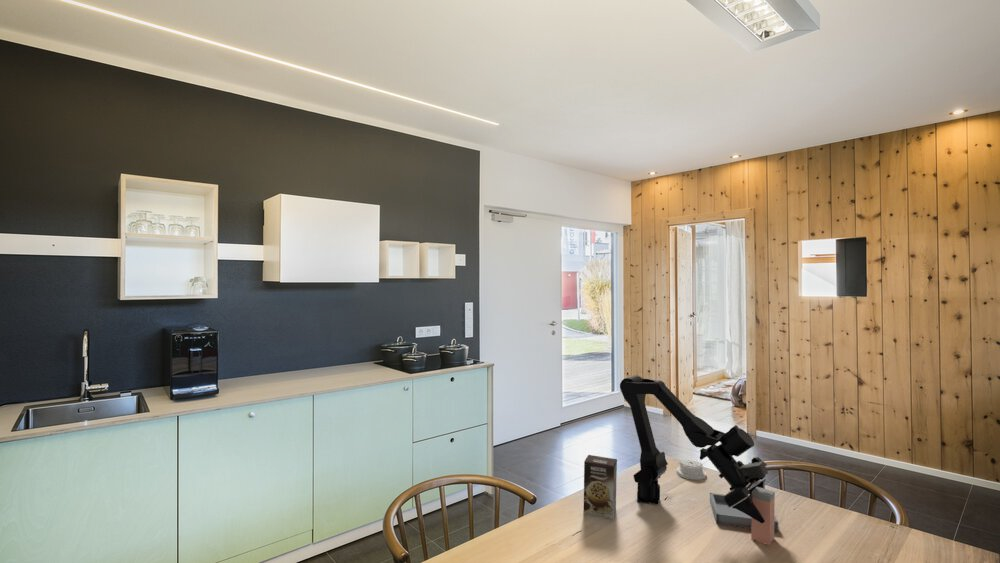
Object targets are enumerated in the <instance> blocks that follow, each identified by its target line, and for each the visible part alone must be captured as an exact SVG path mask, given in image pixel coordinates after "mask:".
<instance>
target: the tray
mask: <svg viewBox="0 0 1000 563" xmlns="http://www.w3.org/2000/svg"><path fill="white" fill-rule="evenodd" d="M725 495H726V494H723V493H722V494H721V493H715V492H714V493H712V492H709V504H710V508H711V511H712V513H713V518H714V520H715V523H716V524H717V525H722V526H723V525H724V526H733V527H739V528H747V529H751V523H752V517H750V516H748V515H747V514H745V513H743V512H741V511H739V510H737V509H735V508H734V509H733V508H732V507H733V506H731V507H728V505H727V504H726V503H725V502H724V496H725ZM774 533H779V521H778V519H777V517H776V515H775V514H774Z"/></svg>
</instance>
